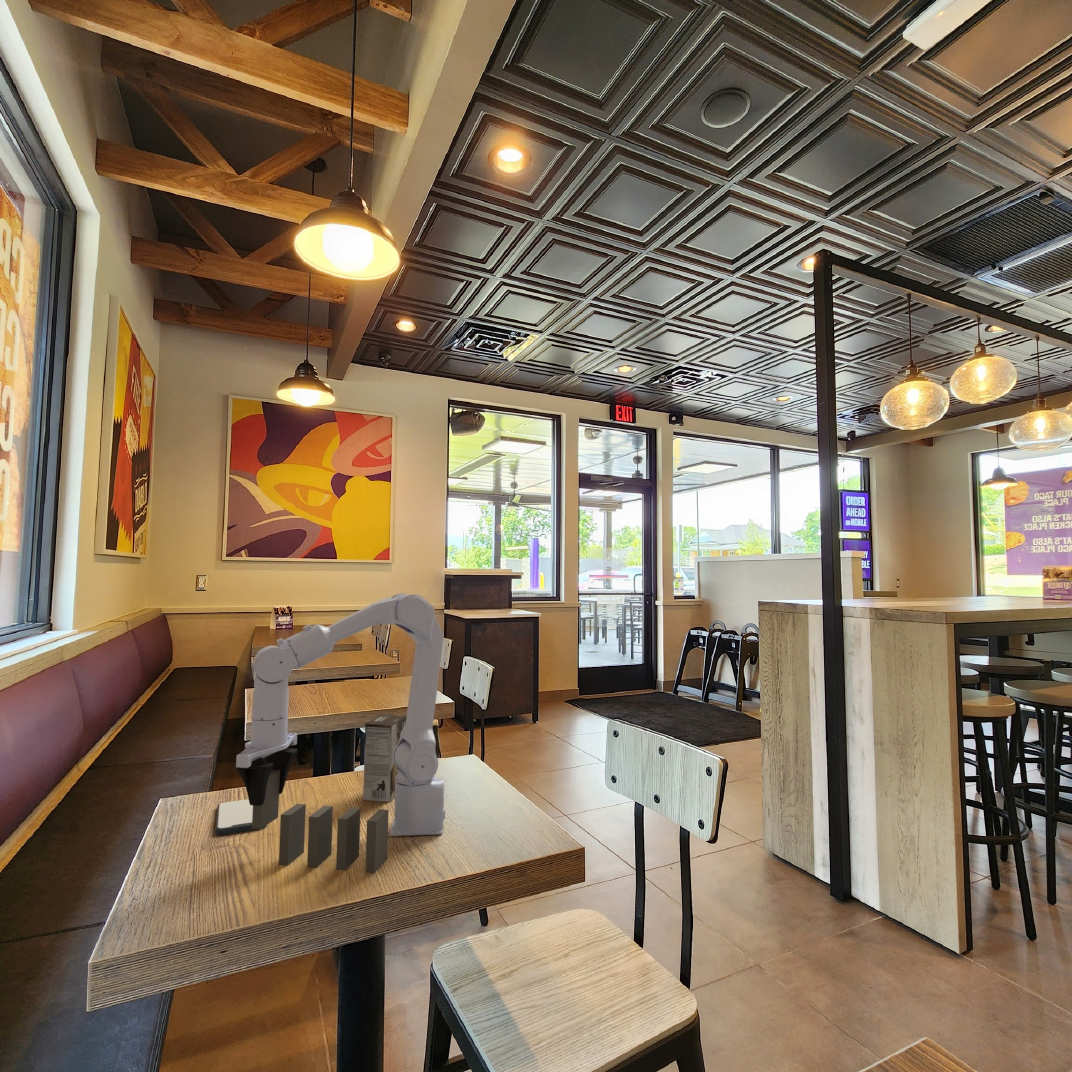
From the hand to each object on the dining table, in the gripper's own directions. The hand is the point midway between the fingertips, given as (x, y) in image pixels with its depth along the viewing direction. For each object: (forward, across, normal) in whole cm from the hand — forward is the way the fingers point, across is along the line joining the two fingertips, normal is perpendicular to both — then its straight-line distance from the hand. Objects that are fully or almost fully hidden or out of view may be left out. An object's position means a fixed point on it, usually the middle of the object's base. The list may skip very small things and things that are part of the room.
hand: (266, 798), depth 101 cm
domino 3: (+9, 0, +15) cm, 18 cm away
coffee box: (+10, -32, +8) cm, 34 cm away
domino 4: (+9, 0, +20) cm, 22 cm away
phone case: (+10, -15, -14) cm, 23 cm away
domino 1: (+9, 0, +5) cm, 11 cm away
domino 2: (+9, 0, +10) cm, 14 cm away
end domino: (+4, 0, 0) cm, 4 cm away
